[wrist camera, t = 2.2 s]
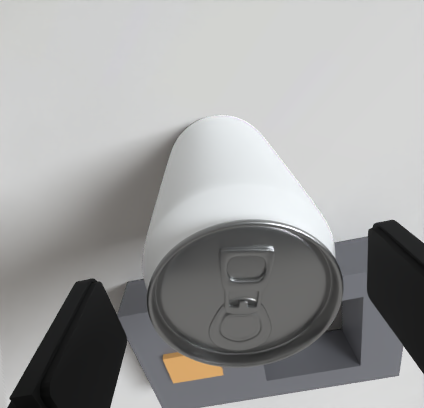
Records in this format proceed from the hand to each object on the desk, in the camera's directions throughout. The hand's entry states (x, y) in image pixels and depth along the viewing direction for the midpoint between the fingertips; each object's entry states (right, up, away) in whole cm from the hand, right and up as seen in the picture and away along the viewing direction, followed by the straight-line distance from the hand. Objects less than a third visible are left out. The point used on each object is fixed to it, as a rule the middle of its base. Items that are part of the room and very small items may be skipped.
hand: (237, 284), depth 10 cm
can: (0, +5, +9) cm, 11 cm away
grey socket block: (+3, -7, +15) cm, 17 cm away
